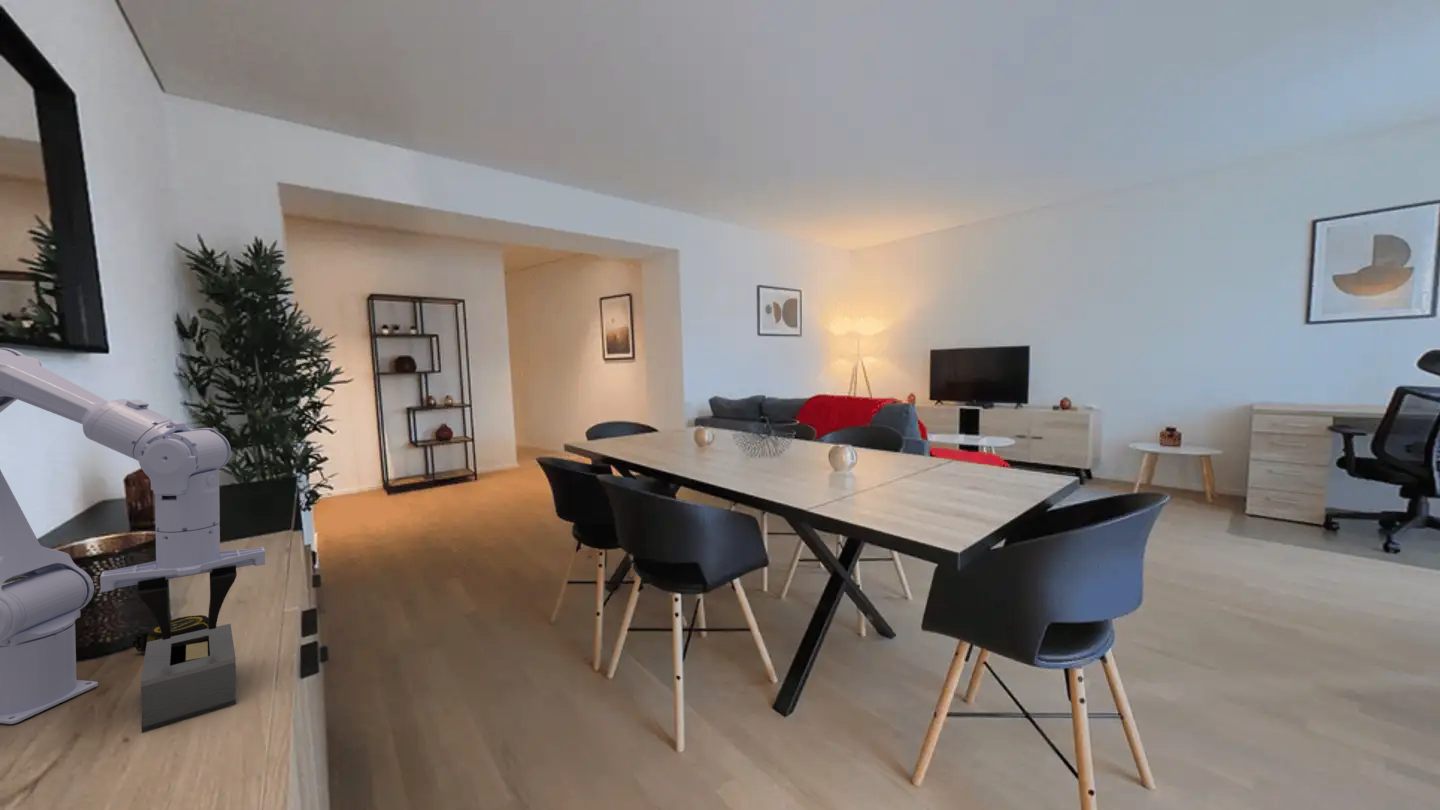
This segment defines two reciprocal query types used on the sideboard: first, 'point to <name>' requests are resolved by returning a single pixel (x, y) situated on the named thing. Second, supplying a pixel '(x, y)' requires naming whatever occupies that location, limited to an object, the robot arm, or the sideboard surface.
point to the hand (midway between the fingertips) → (190, 631)
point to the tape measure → (177, 628)
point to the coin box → (187, 677)
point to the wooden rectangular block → (196, 651)
